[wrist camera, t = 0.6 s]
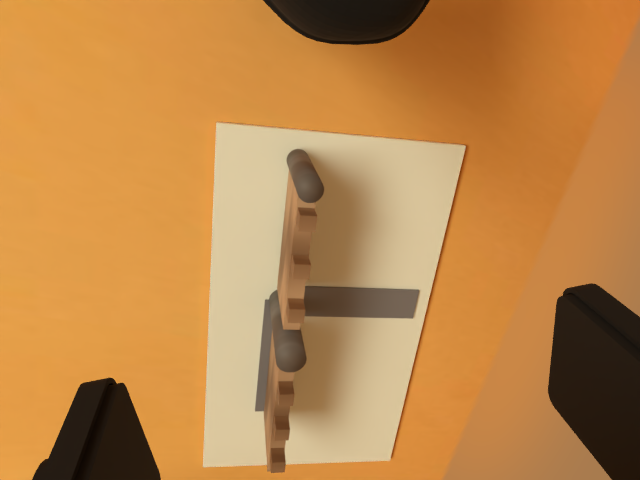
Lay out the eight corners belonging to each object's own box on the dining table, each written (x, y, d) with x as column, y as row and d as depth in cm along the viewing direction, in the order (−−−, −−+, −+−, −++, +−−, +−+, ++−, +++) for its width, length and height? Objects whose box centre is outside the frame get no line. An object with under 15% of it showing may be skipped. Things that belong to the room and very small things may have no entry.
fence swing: (294, 288, 34) (305, 341, 28) (274, 287, 34) (281, 341, 28) (310, 149, 30) (327, 180, 25) (287, 147, 30) (299, 178, 24)
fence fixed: (280, 408, 39) (289, 485, 33) (258, 408, 39) (262, 486, 33) (295, 286, 35) (308, 347, 29) (269, 285, 35) (277, 347, 28)
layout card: (388, 456, 44) (390, 462, 43) (203, 463, 41) (202, 469, 40) (463, 144, 33) (467, 146, 32) (216, 121, 30) (216, 123, 29)
